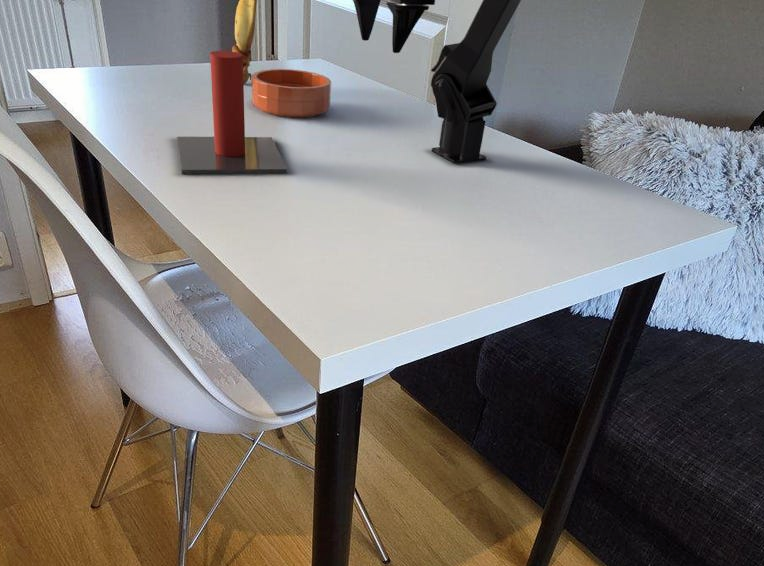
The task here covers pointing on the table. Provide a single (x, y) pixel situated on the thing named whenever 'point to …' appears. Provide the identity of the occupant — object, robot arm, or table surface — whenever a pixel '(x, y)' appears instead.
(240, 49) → the tan tall curved piece
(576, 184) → the table surface
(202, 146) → the coaster
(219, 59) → the red tall cylinder
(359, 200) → the table surface
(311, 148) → the table surface
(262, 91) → the pot
